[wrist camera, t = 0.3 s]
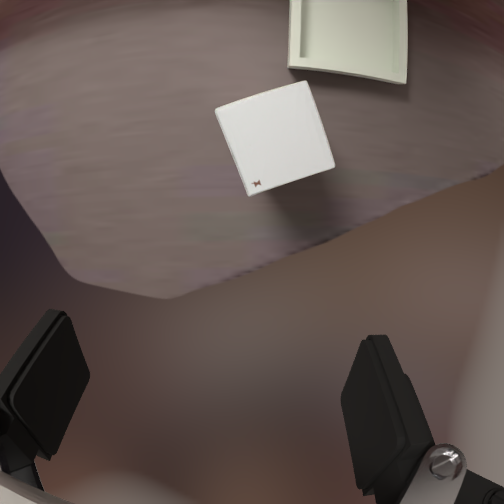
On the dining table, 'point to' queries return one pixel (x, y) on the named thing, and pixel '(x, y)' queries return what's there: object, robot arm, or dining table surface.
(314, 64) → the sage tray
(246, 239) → the dining table surface
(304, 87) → the supplement box
